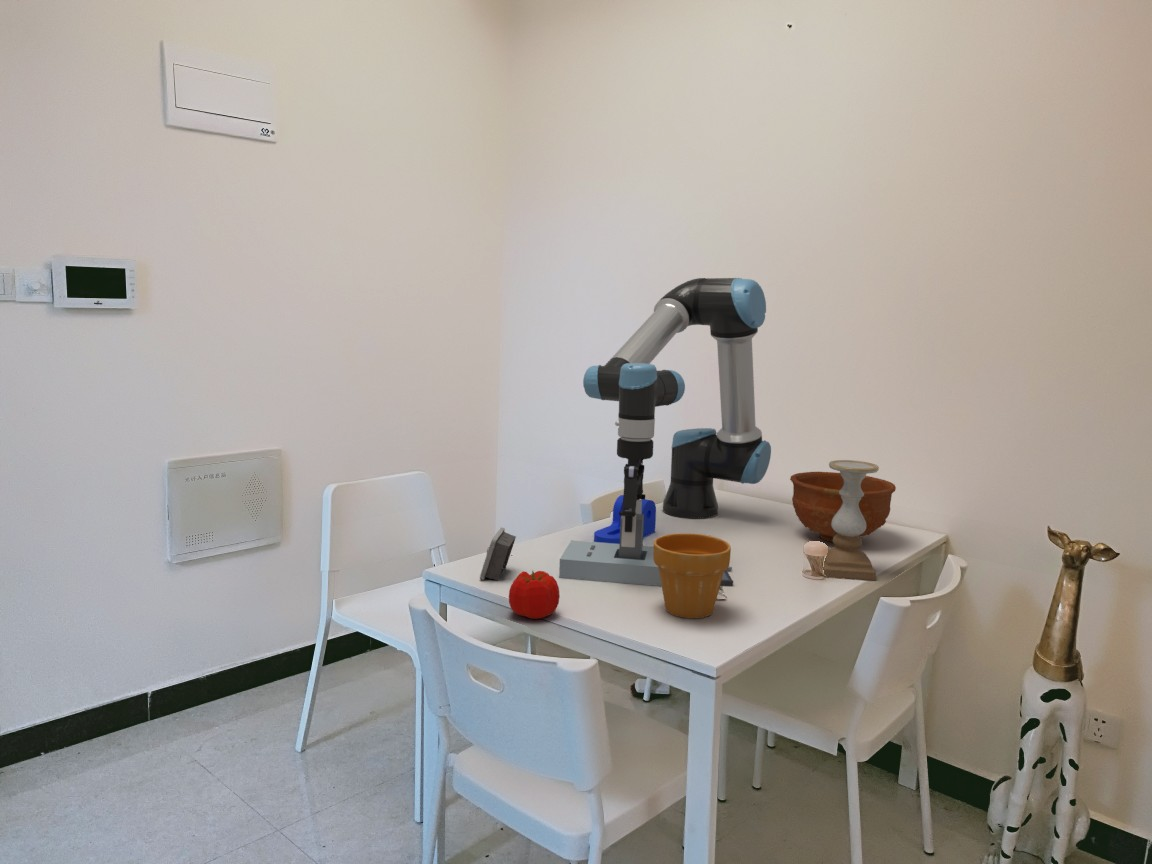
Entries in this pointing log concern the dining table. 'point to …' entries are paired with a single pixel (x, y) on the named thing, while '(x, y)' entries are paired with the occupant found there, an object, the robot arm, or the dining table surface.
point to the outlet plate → (607, 564)
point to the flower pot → (691, 572)
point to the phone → (726, 579)
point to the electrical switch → (497, 555)
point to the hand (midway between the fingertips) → (631, 537)
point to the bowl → (838, 501)
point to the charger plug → (637, 551)
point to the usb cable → (729, 569)
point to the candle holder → (849, 525)
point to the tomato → (534, 594)
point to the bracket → (613, 531)
